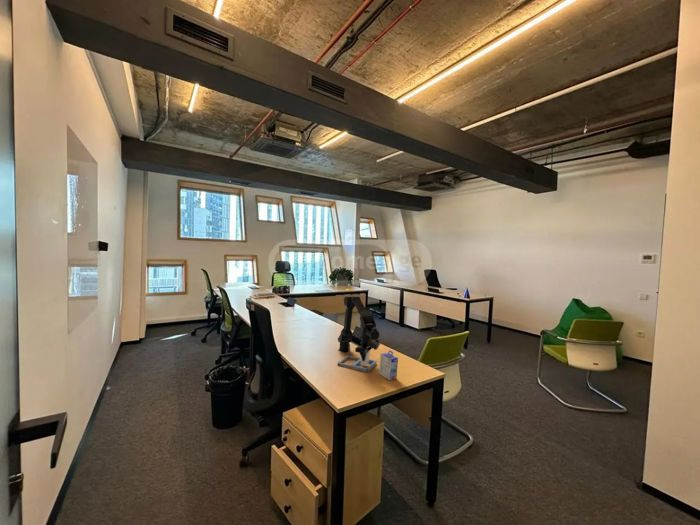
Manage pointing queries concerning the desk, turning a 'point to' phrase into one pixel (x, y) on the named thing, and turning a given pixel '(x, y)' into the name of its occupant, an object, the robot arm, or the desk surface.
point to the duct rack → (355, 365)
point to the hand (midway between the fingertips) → (364, 359)
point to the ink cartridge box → (388, 365)
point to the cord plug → (366, 359)
